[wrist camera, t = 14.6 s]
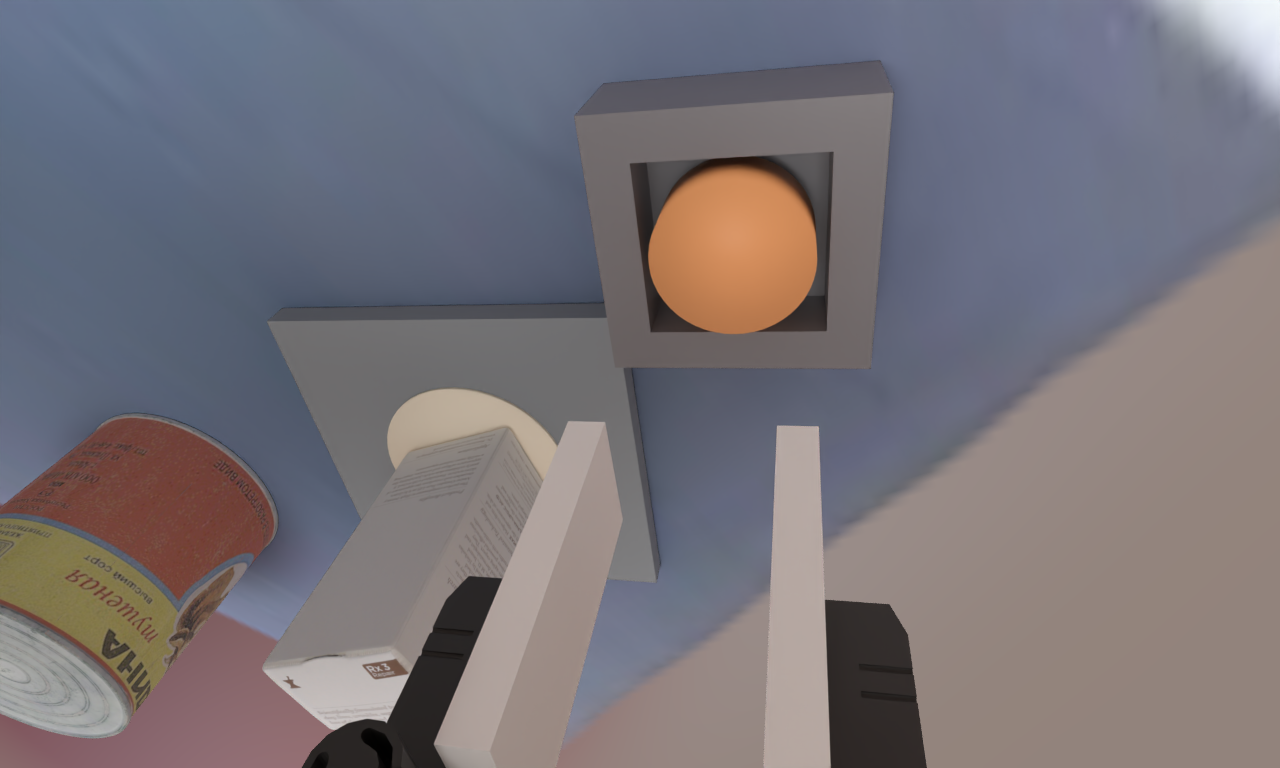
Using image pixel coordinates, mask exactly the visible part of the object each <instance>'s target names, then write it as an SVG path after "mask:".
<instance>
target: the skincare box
mask: <svg viewBox="0 0 1280 768" xmlns="http://www.w3.org/2000/svg"><path fill="white" fill-rule="evenodd" d="M542 483H543V480H542V479H541V477H540V475H539V473H538V472H537V470H536V468H535V466H534V465H533V463H532V462H531V460H530V459H529V457H528V455H527V454H526V452H525V451H524V449H523V448H522V446H521V445H520V443H519V442H518V440H517V439H516V437H515V436H514V434H513V433H512V432H511V431H510V429H508V428H502V429H498V430H494V431H490V432H487V433H483V434H479V435H475V436H471V437H467V438H463V439H459V440H455V441H451V442H447V443H443V444H439V445H435V446H431V447H427V448H423V449H420V450H416V451H412V452H409V453H407V455H406V456H405V457H404V459H403V460H402V462H401V463H400V465H399V466H398V468H397V469H396V470H395V472H394V473H393V475H392V476H391V478H390V479H389V481H388V482H387V484H386V485H385V486H384V488H383V489H382V491H381V492H380V494H379V495H378V497H377V498H376V500H375V501H374V503H373V504H372V506H371V507H370V509H369V510H368V512H367V513H366V514H365V516H364V517H363V519H362V520H361V522H360V523H359V525H358V526H357V528H356V529H355V531H354V532H353V534H352V535H351V537H350V538H349V540H348V541H347V542H346V544H345V545H344V547H343V548H342V550H341V551H340V553H339V554H338V556H337V557H336V558H335V560H334V562H333V563H332V565H331V566H330V567H329V569H328V570H327V572H326V573H325V575H324V576H323V577H322V579H321V580H320V582H319V583H318V585H317V586H316V588H315V589H314V591H313V592H312V594H311V595H310V596H309V598H308V599H307V601H306V602H305V604H304V605H303V607H302V608H301V609H300V611H299V612H298V614H297V615H296V617H295V618H294V620H293V621H292V623H291V624H290V626H289V627H288V628H287V630H286V631H285V633H284V634H283V636H282V637H281V639H280V640H279V642H278V643H277V645H276V646H275V648H274V650H273V651H272V652H271V654H270V655H269V656H268V658H267V659H266V661H265V663H264V665H263V671H264V672H265V673H266V674H267V675H268V676H269V677H270V678H271V679H272V680H273V681H274V682H275V683H276V684H277V685H278V686H280V687H281V688H282V689H283V690H284V691H286V692H287V693H288V694H289V695H290V696H291V697H292V698H294V699H295V700H296V701H297V702H298V703H299V704H300V705H301V706H303V707H304V708H305V709H306V710H307V711H308V712H310V713H311V714H312V715H313V716H314V717H316V718H317V719H318V720H319V721H321V722H322V723H323V724H325V725H326V726H327V727H328V728H330V729H332V730H335V729H338V728H340V727H342V726H344V725H345V724H347V723H350V722H355V721H359V720H363V719H373V720H380V721H385V722H386V723H387V721H388V719H389V717H390V714H391V712H392V710H393V708H394V706H395V704H396V702H397V700H398V698H399V696H400V694H401V692H402V690H403V688H404V685H405V683H406V681H407V679H408V677H409V675H410V673H411V671H412V669H413V667H414V665H415V663H416V661H417V659H418V656H421V654H422V648H423V646H424V644H425V642H426V640H427V638H428V636H429V634H430V633H432V631H433V625H434V623H435V621H436V619H437V617H438V615H439V613H440V611H441V609H442V607H443V605H444V603H445V601H446V599H447V598H448V597H449V596H450V595H451V594H452V593H453V592H454V591H455V590H456V589H457V588H458V587H459V585H460V584H461V583H462V582H463V581H464V580H465V579H466V578H467V577H468V576H477V577H491V578H503V577H504V574H505V572H506V569H507V567H508V565H509V562H510V560H511V557H512V555H513V553H514V550H515V548H516V545H517V543H518V541H519V538H520V536H521V533H522V531H523V529H524V526H525V524H526V521H527V519H528V517H529V514H530V512H531V509H532V507H533V505H534V502H535V500H536V497H537V495H538V493H539V490H540V488H541V485H542Z"/></svg>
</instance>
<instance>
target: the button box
mask: <svg viewBox="0 0 1280 768" xmlns="http://www.w3.org/2000/svg"><path fill="white" fill-rule="evenodd" d="M893 94H894V92H893V90H892V88H891V85H890V83H889V80H888V78H887V76H886V73H885V71H884V69H883V66H882V64H881V61H869V62H857V63H845V64H833V65H821V66H809V67H797V68H785V69H773V70H760V71H748V72H736V73H724V74H712V75H700V76H688V77H676V78H664V79H652V80H640V81H628V82H616V83H604V84H603V85H602V86H601V87H600V88H599V89H598V90H597V91H596V92H595V94H594V95H593V96H592V97H591V98H590V99H589V100H588V101H587V102H586V103H585V105H584V106H583V107H582V108H581V109H580V110H579V111H578V112H577V113H576V115H575V116H574V119H575V125H576V131H577V137H578V143H579V149H580V155H581V162H582V168H583V174H584V180H585V186H586V192H587V198H588V205H589V211H590V217H591V223H592V229H593V235H594V241H595V248H596V254H597V260H598V266H599V272H600V278H601V285H602V291H603V297H604V303H605V309H606V315H607V321H608V328H609V334H610V340H611V346H612V352H613V358H614V364H615V368H800V369H871V358H872V346H873V334H874V322H875V310H876V298H877V286H878V274H879V262H880V250H881V238H882V226H883V214H884V202H885V190H886V178H887V166H888V154H889V142H890V130H891V118H892V106H893ZM748 156H755V157H759V158H762V159H766V160H768V161H770V162H773V163H775V164H777V165H778V166H780V167H782V168H783V169H785V170H786V171H787V172H789V173H790V174H791V175H792V176H793V177H794V178H795V179H796V180H797V181H798V182H799V183H800V184H801V186H802V187H803V188H804V190H805V191H806V193H807V195H808V197H809V199H810V201H811V204H812V207H813V210H814V215H815V222H816V243H817V268H816V273H815V277H814V281H813V283H812V286H811V288H810V290H809V292H808V294H807V295H806V297H805V299H804V300H803V301H802V302H801V304H800V305H799V306H798V307H797V308H796V309H795V310H794V311H793V312H792V313H791V314H790V315H788V316H787V317H786V318H784V319H783V320H781V321H780V322H778V323H776V324H775V325H772V326H770V327H768V328H765V329H762V330H759V331H756V332H750V333H745V334H723V333H717V332H712V331H708V330H705V329H702V328H700V327H697V326H695V325H693V324H691V323H689V322H687V321H685V320H684V319H683V318H681V317H680V316H678V315H677V314H676V313H675V312H674V311H673V310H672V309H670V308H669V306H668V305H667V304H666V303H665V302H664V301H663V299H662V298H661V296H660V295H659V293H658V291H657V289H656V287H655V285H654V283H653V280H652V277H651V274H650V269H649V260H648V252H649V244H650V239H651V235H652V233H653V230H654V228H655V225H656V223H657V220H658V218H659V215H660V213H661V210H662V208H663V205H664V203H665V200H666V198H667V196H668V194H669V193H670V191H671V189H672V188H673V186H674V185H675V184H676V183H677V181H678V180H679V179H680V178H681V177H682V176H683V175H684V174H686V173H687V172H688V171H690V170H691V169H692V168H694V167H696V166H697V165H699V164H701V163H703V162H705V161H708V160H710V159H714V158H731V157H748Z"/></svg>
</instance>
